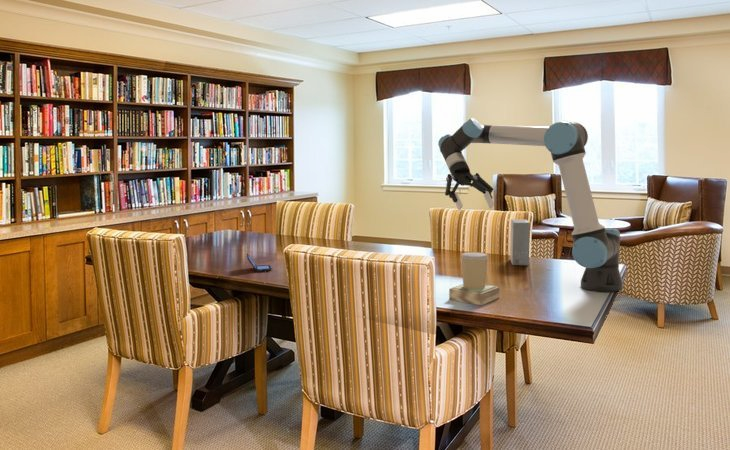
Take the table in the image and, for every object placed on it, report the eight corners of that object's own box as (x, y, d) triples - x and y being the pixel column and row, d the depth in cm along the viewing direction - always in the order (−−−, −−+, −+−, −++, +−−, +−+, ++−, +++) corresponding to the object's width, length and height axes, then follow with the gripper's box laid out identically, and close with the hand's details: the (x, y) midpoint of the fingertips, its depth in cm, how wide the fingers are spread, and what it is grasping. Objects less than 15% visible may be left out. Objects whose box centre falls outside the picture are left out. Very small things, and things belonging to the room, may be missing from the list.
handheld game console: (272, 272, 269) (271, 256, 268) (247, 273, 267) (247, 257, 266) (270, 267, 281) (269, 251, 280) (247, 268, 279) (246, 252, 278)
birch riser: (499, 297, 215) (499, 286, 215) (481, 305, 206) (481, 293, 205) (468, 292, 224) (468, 281, 223) (449, 299, 214) (449, 287, 214)
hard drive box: (529, 265, 272) (530, 222, 270) (512, 265, 274) (512, 222, 271) (526, 259, 287) (526, 218, 285) (509, 259, 289) (510, 218, 286)
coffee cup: (491, 285, 216) (491, 253, 214) (481, 291, 208) (481, 257, 206) (467, 283, 221) (467, 251, 219) (456, 288, 213) (457, 255, 211)
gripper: (481, 172, 246) (501, 211, 234) (427, 174, 238) (444, 214, 226) (488, 159, 240) (508, 199, 228) (432, 160, 232) (450, 202, 220)
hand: (476, 207), depth 227 cm, fingers open, 13 cm apart
